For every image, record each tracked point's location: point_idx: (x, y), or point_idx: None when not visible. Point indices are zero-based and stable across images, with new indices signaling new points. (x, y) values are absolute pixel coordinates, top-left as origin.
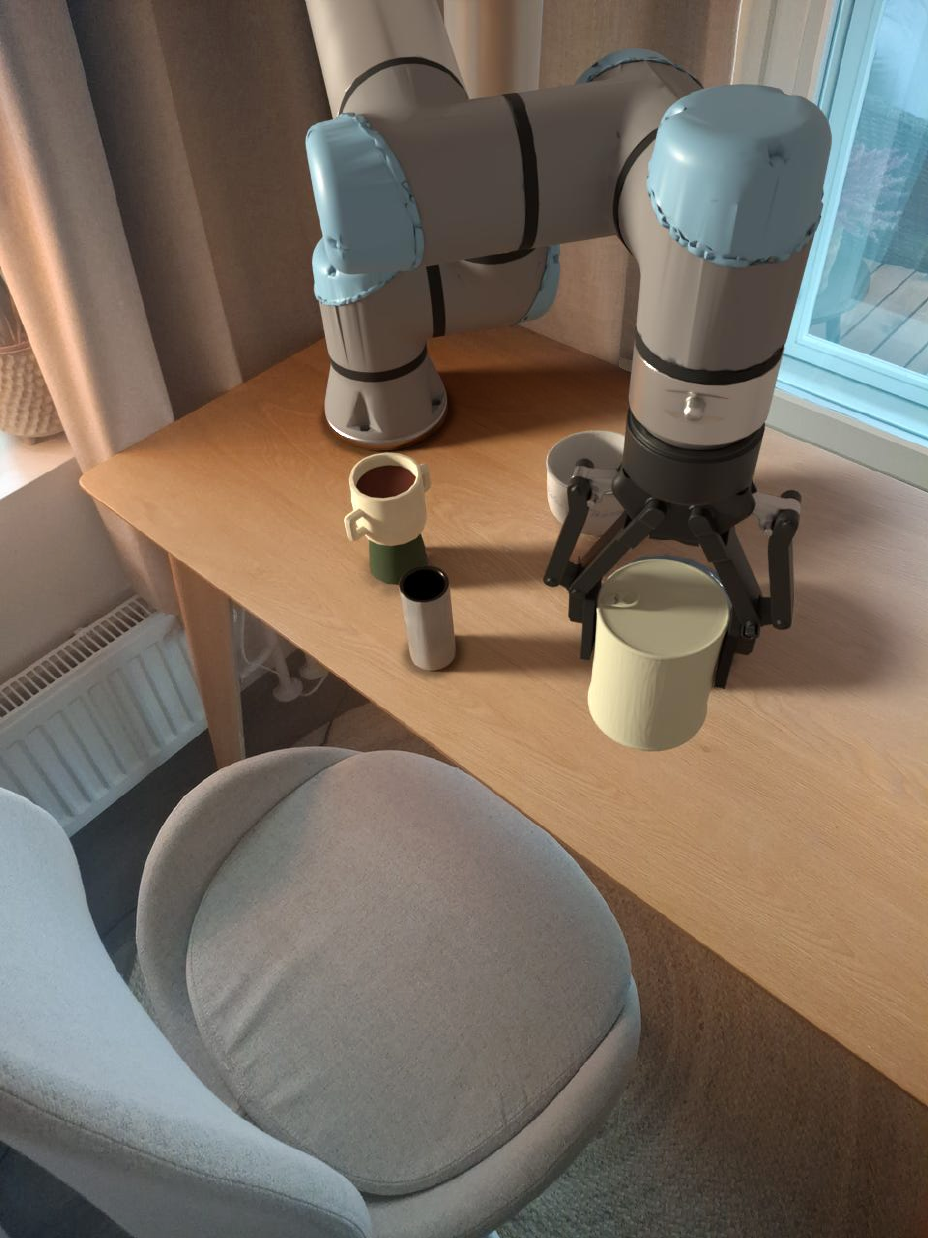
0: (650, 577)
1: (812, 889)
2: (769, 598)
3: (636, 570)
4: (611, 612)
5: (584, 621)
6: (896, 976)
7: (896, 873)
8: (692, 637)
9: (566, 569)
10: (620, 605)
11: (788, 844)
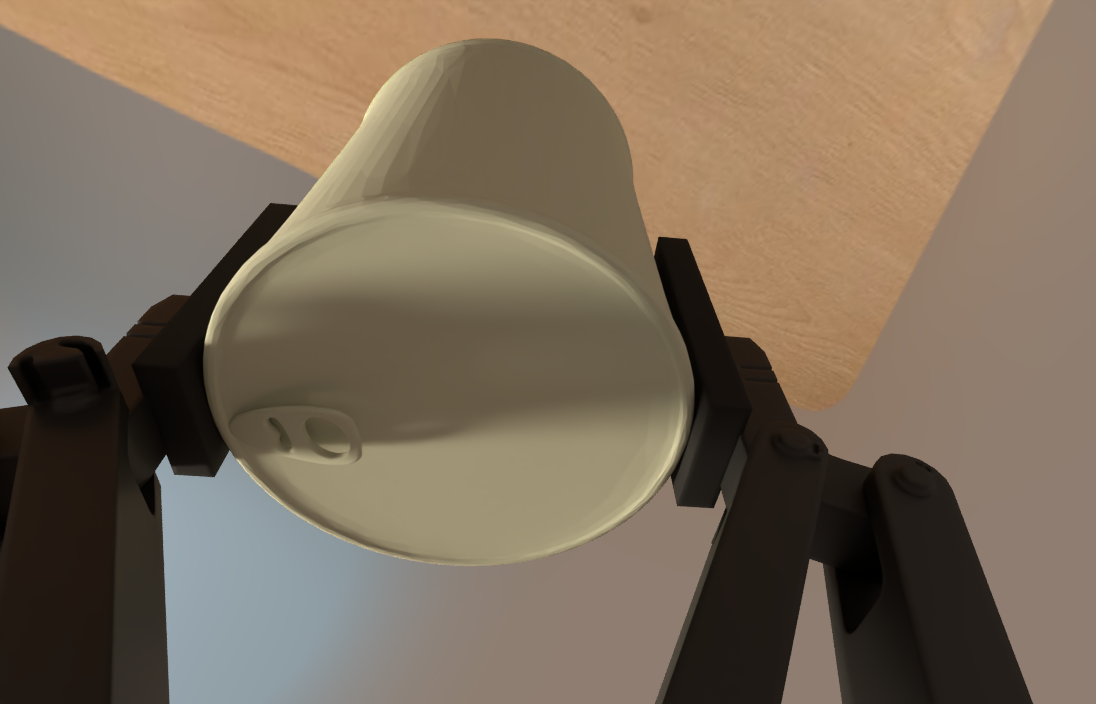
0: (376, 305)
1: (781, 249)
2: (846, 518)
3: (306, 278)
4: (288, 461)
5: None
6: (854, 334)
7: (914, 206)
8: (562, 505)
9: (5, 501)
10: (305, 459)
11: (762, 188)
